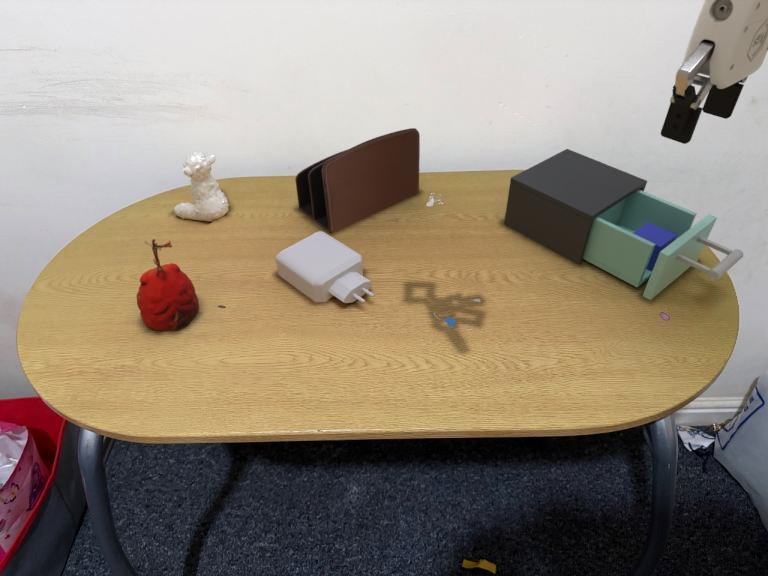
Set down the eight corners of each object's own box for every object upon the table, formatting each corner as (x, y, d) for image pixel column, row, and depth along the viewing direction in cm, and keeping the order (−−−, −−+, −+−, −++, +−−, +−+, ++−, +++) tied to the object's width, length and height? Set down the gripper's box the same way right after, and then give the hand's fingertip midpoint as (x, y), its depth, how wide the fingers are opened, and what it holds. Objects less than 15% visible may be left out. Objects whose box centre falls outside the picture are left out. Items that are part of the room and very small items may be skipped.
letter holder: (420, 196, 98) (421, 123, 89) (331, 238, 89) (323, 161, 79) (385, 176, 104) (383, 105, 95) (298, 213, 95) (287, 139, 85)
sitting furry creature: (218, 194, 100) (202, 133, 92) (247, 209, 96) (233, 147, 88) (174, 216, 95) (153, 153, 87) (202, 233, 91) (183, 169, 83)
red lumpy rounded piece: (189, 295, 79) (158, 208, 69) (212, 319, 75) (184, 230, 65) (139, 320, 75) (99, 231, 65) (161, 347, 71) (122, 257, 61)
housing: (630, 232, 88) (647, 180, 82) (577, 269, 81) (592, 216, 75) (556, 197, 97) (567, 148, 90) (503, 228, 90) (510, 177, 83)
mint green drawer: (736, 279, 77) (760, 234, 72) (690, 322, 71) (712, 277, 66) (616, 223, 89) (630, 181, 83) (568, 256, 82) (579, 213, 77)
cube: (639, 245, 82) (648, 221, 79) (667, 259, 79) (676, 234, 76) (623, 257, 80) (632, 233, 77) (651, 271, 77) (661, 246, 74)
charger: (344, 328, 73) (279, 279, 81) (392, 296, 78) (325, 252, 86) (342, 302, 70) (274, 254, 78) (392, 270, 74) (323, 228, 83)
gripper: (762, -25, 45) (690, 162, 56) (838, -52, 53) (761, 115, 64) (676, -37, 49) (625, 138, 60) (758, -60, 57) (699, 97, 69)
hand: (695, 126), depth 62 cm, fingers open, 9 cm apart
